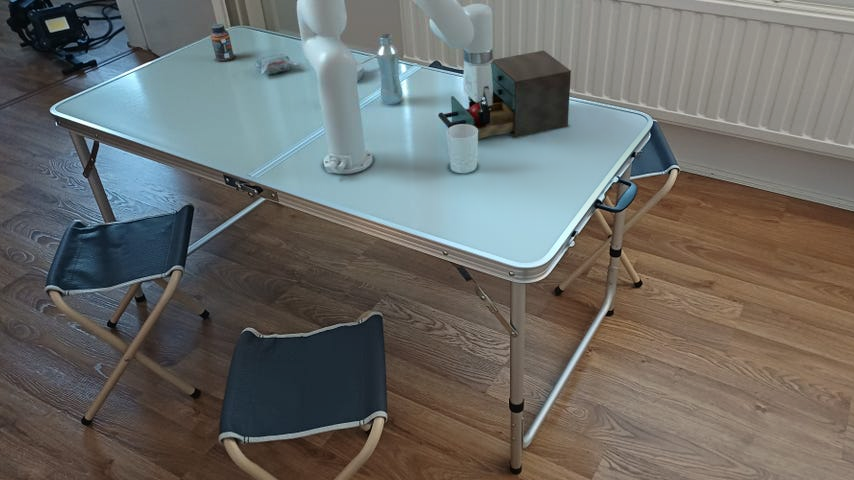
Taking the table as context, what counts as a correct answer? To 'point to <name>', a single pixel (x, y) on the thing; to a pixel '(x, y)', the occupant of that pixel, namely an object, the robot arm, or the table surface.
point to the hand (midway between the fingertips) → (479, 118)
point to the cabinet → (533, 91)
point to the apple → (475, 113)
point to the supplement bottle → (221, 43)
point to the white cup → (462, 147)
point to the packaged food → (274, 64)
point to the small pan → (360, 66)
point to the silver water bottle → (389, 70)
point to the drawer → (498, 124)
